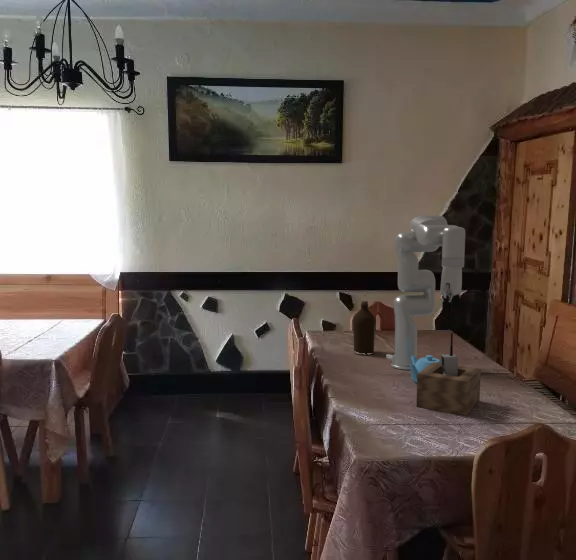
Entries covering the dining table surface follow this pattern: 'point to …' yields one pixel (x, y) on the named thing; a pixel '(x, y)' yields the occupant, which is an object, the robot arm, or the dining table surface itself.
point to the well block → (448, 389)
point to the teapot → (421, 365)
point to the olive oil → (364, 330)
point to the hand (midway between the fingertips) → (451, 310)
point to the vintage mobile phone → (450, 362)
